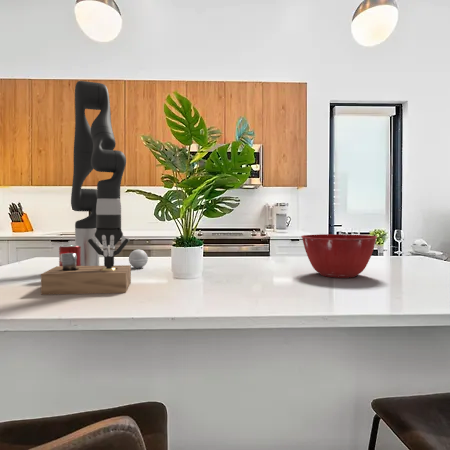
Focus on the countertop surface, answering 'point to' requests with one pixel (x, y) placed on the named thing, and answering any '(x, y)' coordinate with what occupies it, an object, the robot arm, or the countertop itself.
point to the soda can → (70, 249)
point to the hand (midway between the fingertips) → (109, 268)
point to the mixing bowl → (339, 253)
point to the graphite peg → (69, 261)
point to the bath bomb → (138, 258)
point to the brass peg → (109, 268)
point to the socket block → (86, 280)
